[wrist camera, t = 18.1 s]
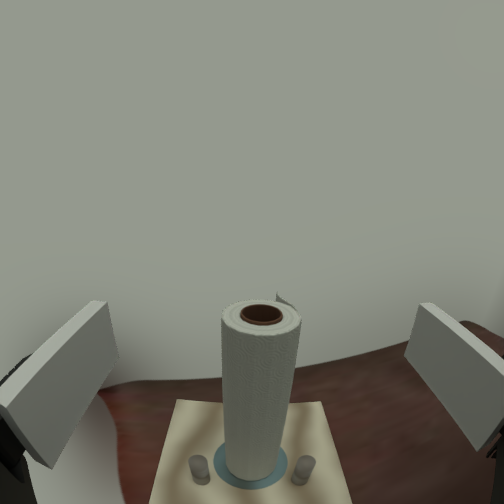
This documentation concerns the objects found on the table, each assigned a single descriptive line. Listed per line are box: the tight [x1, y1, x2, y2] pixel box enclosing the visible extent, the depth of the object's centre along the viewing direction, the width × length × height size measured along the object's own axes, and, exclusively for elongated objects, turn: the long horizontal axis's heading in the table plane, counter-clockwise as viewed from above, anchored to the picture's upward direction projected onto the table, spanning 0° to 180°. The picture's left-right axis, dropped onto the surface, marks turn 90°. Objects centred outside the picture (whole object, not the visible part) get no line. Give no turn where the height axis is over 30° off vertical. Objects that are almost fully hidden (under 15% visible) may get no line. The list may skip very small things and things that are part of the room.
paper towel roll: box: [221, 292, 301, 481], centre depth 23 cm, size 7×6×21 cm
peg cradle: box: [149, 399, 352, 504], centre depth 25 cm, size 22×22×6 cm
